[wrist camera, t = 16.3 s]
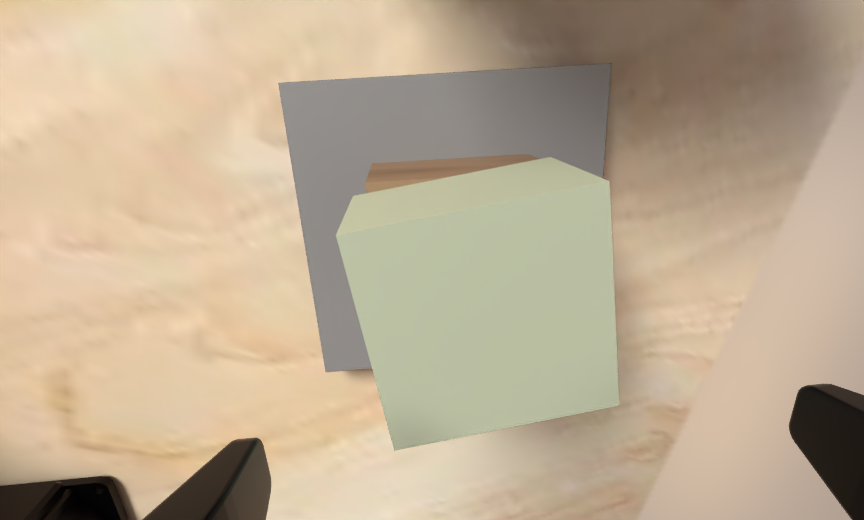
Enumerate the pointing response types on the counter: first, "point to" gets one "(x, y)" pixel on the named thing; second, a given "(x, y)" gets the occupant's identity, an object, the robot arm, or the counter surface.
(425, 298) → the sage block
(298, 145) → the plate
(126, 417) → the counter surface
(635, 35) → the counter surface
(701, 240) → the counter surface
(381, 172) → the walnut block
